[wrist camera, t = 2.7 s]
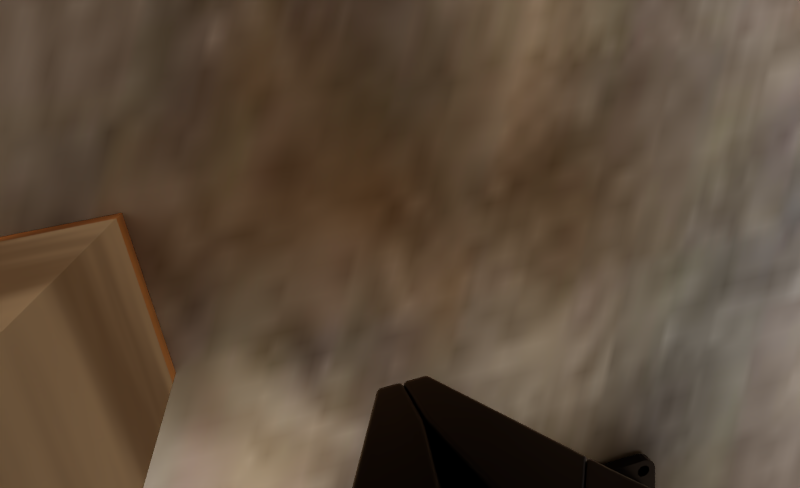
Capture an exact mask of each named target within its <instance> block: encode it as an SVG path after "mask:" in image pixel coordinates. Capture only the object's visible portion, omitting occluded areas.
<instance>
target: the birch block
mask: <svg viewBox="0 0 800 488" xmlns="http://www.w3.org/2000/svg"><path fill="white" fill-rule="evenodd" d="M175 374H176V372H175V369H174V366H173V363H172V360H171V357H170V354H169V351H168V348H167V345H166V342H165V340H164V337H163V334H162V331H161V328H160V325H159V322H158V319H157V316H156V313H155V310H154V307H153V304H152V301H151V298H150V295H149V292H148V289H147V286H146V283H145V280H144V277H143V274H142V271H141V268H140V265H139V262H138V259H137V256H136V253H135V250H134V247H133V244H132V241H131V239H130V236H129V233H128V230H127V227H126V224H125V221H124V218H123V215H122V213H118V214H113V215H108V216H103V217H98V218H93V219H88V220H83V221H78V222H73V223H68V224H63V225H58V226H53V227H48V228H43V229H38V230H33V231H28V232H23V233H18V234H13V235H8V236H3V237H0V488H143V486H144V483H145V479H146V476H147V472H148V469H149V465H150V461H151V458H152V454H153V451H154V447H155V444H156V440H157V437H158V433H159V430H160V426H161V423H162V419H163V416H164V412H165V409H166V405H167V402H168V398H169V395H170V391H171V388H172V384H173V381H174V377H175Z"/></svg>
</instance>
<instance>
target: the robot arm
mask: <svg viewBox="0 0 800 488" xmlns="http://www.w3.org/2000/svg"><path fill="white" fill-rule="evenodd" d="M352 488H655V466H654V463H653V462H652V461H651V460H650V459H649V458H648V457H647V456H646V455H644V454H636V455H633V456H630V457H626V458H623V459H620V460H617V461H614V462H611V463H608V464H605V465H602V464H600V463H598V462H596V461H594V460H592V459H588V460H587V458H586V457H585V456H584V455H582V454H580V453H578V452H576V451H574V450H572V449H570V448H568V447H566V446H564V445H562V444H560V443H558V442H556V441H554V440H552V439H550V438H548V437H546V436H544V435H542V434H540V433H538V432H537V431H535V430H533V429H531V428H529V427H527V426H525V425H523V424H521V423H519V422H517V421H515V420H513V419H511V418H509V417H507V416H505V415H503V414H501V413H499V412H497V411H495V410H493V409H491V408H489V407H487V406H485V405H484V404H482V403H480V402H478V401H476V400H474V399H472V398H470V397H468V396H466V395H464V394H462V393H460V392H458V391H456V390H454V389H452V388H450V387H448V386H446V385H444V384H442V383H440V382H438V381H436V380H434V379H432V378H431V377H428V376H423V377H420V378H416V379H413V380H409V381H406V382H405V383H404V386H403V385H402V384H395V385H391V386H387V387H384V388H380V389H379V390H378V391H377V394H376V398H375V402H374V405H373V409H372V413H371V417H370V421H369V425H368V429H367V433H366V436H365V440H364V444H363V448H362V452H361V456H360V460H359V463H358V467H357V471H356V475H355V479H354V483H353V487H352Z"/></svg>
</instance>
